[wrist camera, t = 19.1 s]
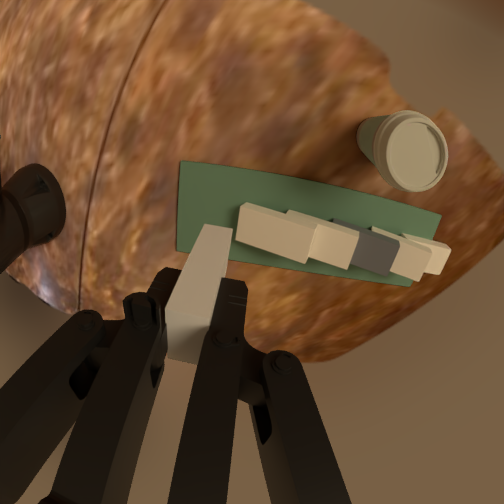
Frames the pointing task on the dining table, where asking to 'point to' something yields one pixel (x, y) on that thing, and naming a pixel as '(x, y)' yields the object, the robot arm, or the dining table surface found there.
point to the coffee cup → (404, 149)
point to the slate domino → (372, 249)
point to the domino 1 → (275, 232)
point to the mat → (282, 199)
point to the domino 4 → (438, 253)
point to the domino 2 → (331, 241)
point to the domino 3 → (408, 256)
